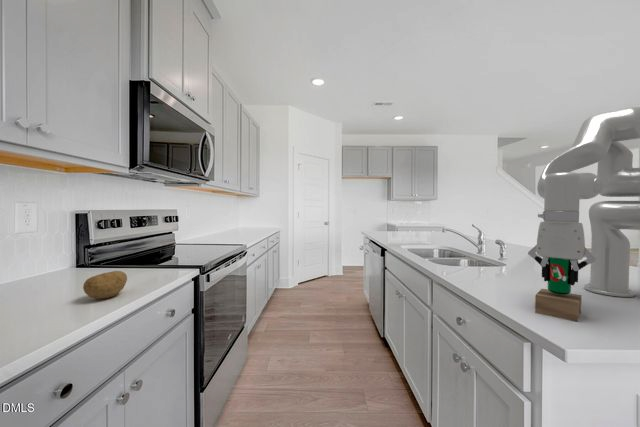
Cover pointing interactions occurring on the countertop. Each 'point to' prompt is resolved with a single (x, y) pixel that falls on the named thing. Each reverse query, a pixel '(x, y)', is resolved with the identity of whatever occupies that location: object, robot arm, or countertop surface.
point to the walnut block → (558, 305)
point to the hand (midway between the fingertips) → (559, 281)
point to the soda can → (559, 275)
